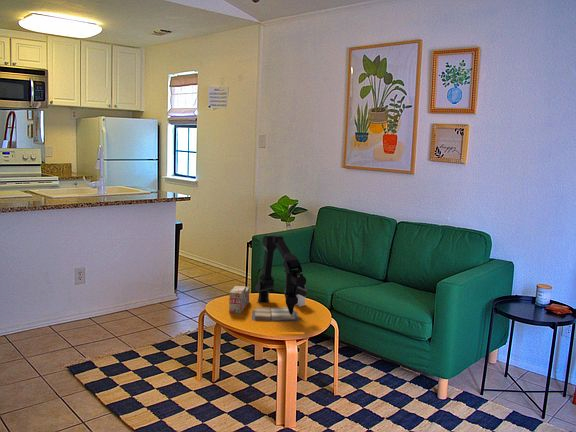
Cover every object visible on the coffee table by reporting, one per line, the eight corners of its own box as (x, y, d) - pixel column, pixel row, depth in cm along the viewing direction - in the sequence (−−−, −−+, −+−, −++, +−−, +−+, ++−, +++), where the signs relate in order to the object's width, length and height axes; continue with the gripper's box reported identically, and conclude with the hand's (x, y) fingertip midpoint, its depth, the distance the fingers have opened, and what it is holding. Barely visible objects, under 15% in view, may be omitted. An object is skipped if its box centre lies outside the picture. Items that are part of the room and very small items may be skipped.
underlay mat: (252, 312, 293) (252, 310, 293) (297, 313, 294) (297, 311, 294) (251, 322, 277) (251, 320, 277) (299, 323, 278) (299, 321, 278)
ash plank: (271, 311, 292) (271, 307, 292) (293, 310, 293) (293, 306, 292) (271, 320, 278) (271, 316, 278) (295, 319, 279) (295, 315, 278)
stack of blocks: (238, 302, 309) (238, 281, 307) (249, 303, 308) (249, 282, 306) (228, 314, 288) (229, 291, 286) (240, 315, 287) (241, 292, 285)
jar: (288, 302, 312) (289, 281, 310) (302, 301, 314) (303, 281, 312) (292, 307, 303) (292, 286, 302) (306, 306, 305) (307, 285, 304)
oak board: (255, 310, 292) (255, 307, 291) (270, 311, 292) (270, 307, 292) (254, 319, 278) (254, 316, 277) (270, 320, 278) (270, 316, 278)
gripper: (308, 287, 274) (307, 317, 276) (305, 277, 293) (304, 305, 295) (286, 287, 274) (285, 317, 276) (284, 277, 292) (284, 305, 294)
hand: (290, 311), depth 285 cm, fingers open, 9 cm apart
